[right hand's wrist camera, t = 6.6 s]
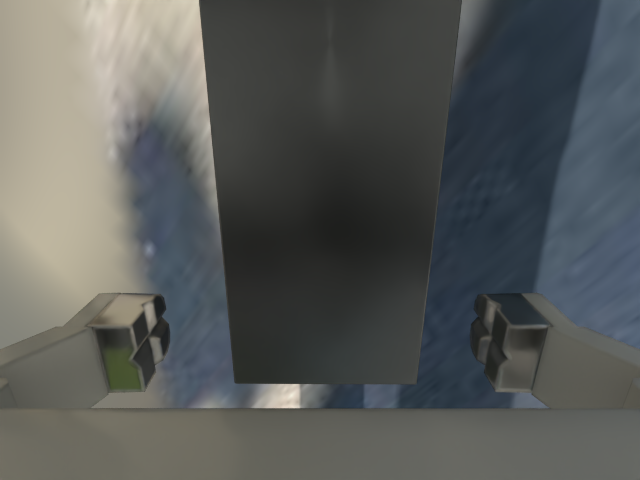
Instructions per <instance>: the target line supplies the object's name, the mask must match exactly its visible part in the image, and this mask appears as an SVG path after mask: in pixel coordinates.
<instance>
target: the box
mask: <svg viewBox="0 0 640 480" xmlns="http://www.w3.org/2000/svg"><path fill="white" fill-rule="evenodd" d="M461 4H462V0H199V6H200V17H201V27H202V38H203V49H204V60H205V70H206V81H207V92H208V103H209V113H210V124H211V135H212V146H213V156H214V167H215V178H216V189H217V199H218V210H219V221H220V232H221V242H222V253H223V264H224V275H225V285H226V296H227V307H228V318H229V328H230V339H231V350H232V361H233V371H234V382H235V383H236V384H416V383H417V375H418V367H419V358H420V350H421V342H422V333H423V325H424V316H425V308H426V299H427V291H428V283H429V274H430V266H431V257H432V249H433V240H434V232H435V223H436V215H437V207H438V198H439V190H440V181H441V173H442V164H443V156H444V147H445V139H446V131H447V122H448V114H449V105H450V97H451V88H452V80H453V71H454V63H455V55H456V46H457V38H458V29H459V21H460V12H461Z"/></svg>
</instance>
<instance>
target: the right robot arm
mask: <svg viewBox="0 0 640 480" xmlns="http://www.w3.org/2000/svg"><path fill="white" fill-rule="evenodd" d="M165 311H166V305H165V300H164V297H163V296H162V295H161V294H137V293H102V294H98V295H97V296H96V297H95V298H94V299H93V300H91V301H90V302H89V303H88V304H87V305H86V306H85V307H84V308H83V309H82V310H80V311H79V312H78V313H77V314H76V315H75V316H74V317H73V318H72V319H71V320H69V321H68V322H67V323H66V324H65V325H64V326H63V327H54V328H52V329H50V330H47V331H45V332H42V333H40V334H37V335H35V336H32V337H30V338H27V339H25V340H22V341H20V342H17V343H15V344H12V345H10V346H7V347H5V348H2V349H0V480H640V349H637V348H635V347H632V346H630V345H628V344H625V343H623V342H620V341H618V340H615V339H613V338H610V337H608V336H605V335H603V334H600V333H598V332H595V331H593V330H591V329H588V328H586V327H577V326H576V325H575V324H574V323H573V322H572V321H571V320H569V319H568V318H567V317H566V316H565V315H564V314H563V313H562V312H561V311H560V310H558V309H557V308H556V307H555V306H554V305H553V304H552V303H551V302H550V301H549V300H548V299H546V298H545V297H544V296H543V295H542V294H539V293H507V294H480V295H478V296H477V298H476V300H475V305H474V311H475V312H476V314H477V315H478V318H477V319H476V320H475V321H474V322H473V323H472V324H471V329H470V344H471V348H472V352H473V354H474V356H475V358H476V360H477V361H479V362H480V363H482V364H484V365H485V369H484V373H485V375H486V377H487V379H488V380H489V382H490V384H491V385H492V387H493V389H494V390H495V392H521V393H532V395H533V396H534V397H536V398H537V399H538V400H540V401H541V402H542V403H544V404H545V405H546V406H548V407H549V408H91V407H92V406H94V405H95V404H96V403H98V402H99V401H100V400H102V399H103V398H104V397H106V396H107V395H108V393H119V392H145V390H146V389H147V387H148V385H149V384H150V382H151V380H152V379H153V377H154V375H155V373H156V369H155V365H156V364H158V363H160V362H161V361H163V360H164V358H165V356H166V354H167V352H168V348H169V344H170V328H169V324H168V323H167V322H166V321H165V320H164V319H163V318H162V315H163V314H164V312H165Z"/></svg>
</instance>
